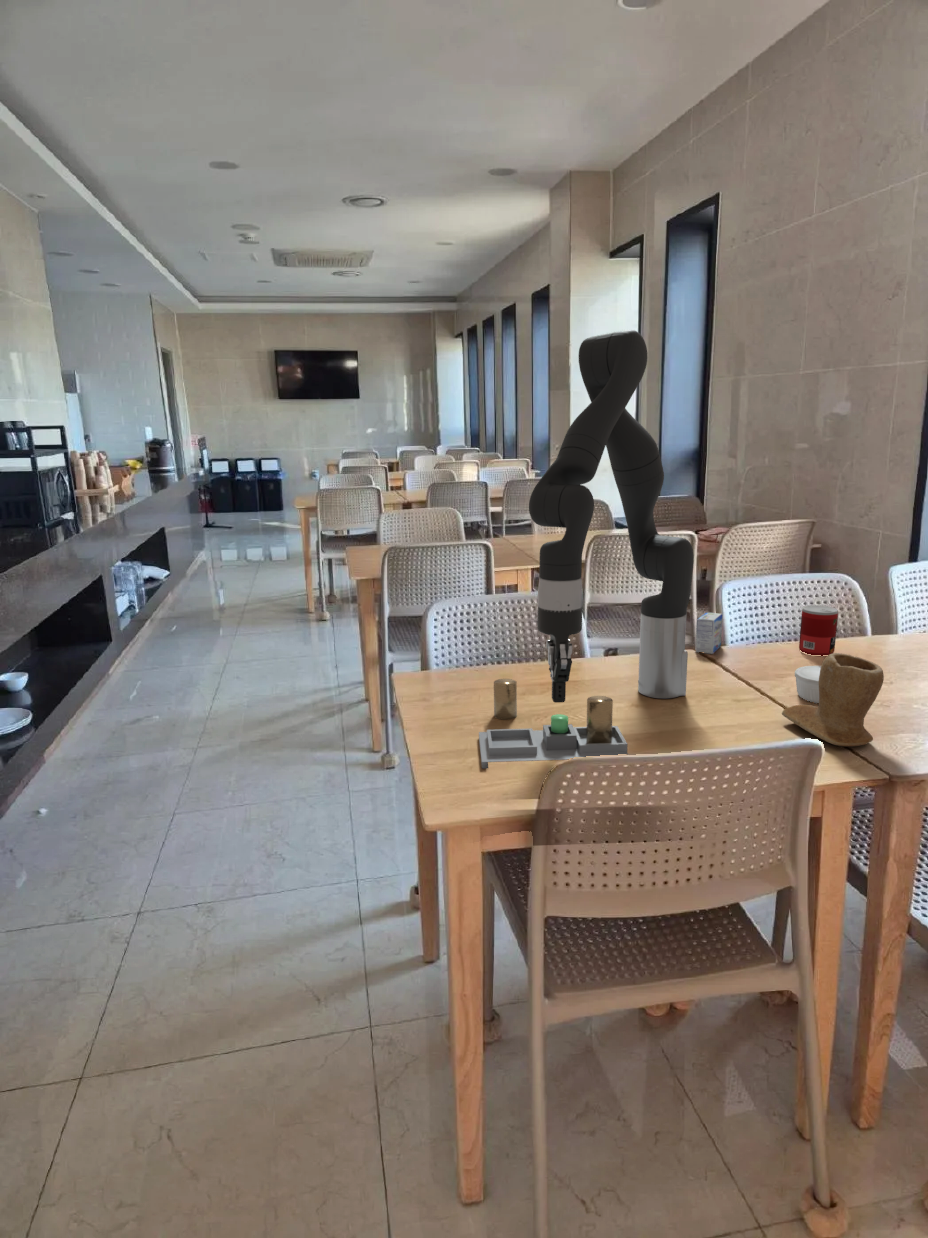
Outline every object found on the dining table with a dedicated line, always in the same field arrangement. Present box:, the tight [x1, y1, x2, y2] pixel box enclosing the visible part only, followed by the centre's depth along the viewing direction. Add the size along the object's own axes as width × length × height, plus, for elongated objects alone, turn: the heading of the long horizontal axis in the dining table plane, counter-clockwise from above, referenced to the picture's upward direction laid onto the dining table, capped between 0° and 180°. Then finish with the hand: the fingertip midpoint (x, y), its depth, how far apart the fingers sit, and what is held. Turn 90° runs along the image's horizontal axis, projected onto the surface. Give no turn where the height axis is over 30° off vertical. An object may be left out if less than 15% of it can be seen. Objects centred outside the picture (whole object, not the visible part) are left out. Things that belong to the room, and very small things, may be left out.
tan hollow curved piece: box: [781, 652, 885, 747], centre depth 140 cm, size 15×12×15 cm
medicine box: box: [694, 612, 723, 655], centre depth 194 cm, size 8×4×9 cm, turn 148°
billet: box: [493, 678, 518, 721], centre depth 151 cm, size 4×4×8 cm
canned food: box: [798, 604, 839, 657], centre depth 189 cm, size 8×8×11 cm
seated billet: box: [586, 695, 614, 744], centre depth 137 cm, size 4×4×8 cm
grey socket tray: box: [478, 723, 629, 769], centre depth 137 cm, size 25×13×4 cm, turn 91°
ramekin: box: [794, 665, 821, 704], centre depth 160 cm, size 11×11×5 cm
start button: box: [550, 713, 569, 734], centre depth 137 cm, size 3×3×2 cm
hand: (558, 700), depth 135 cm, fingers closed
